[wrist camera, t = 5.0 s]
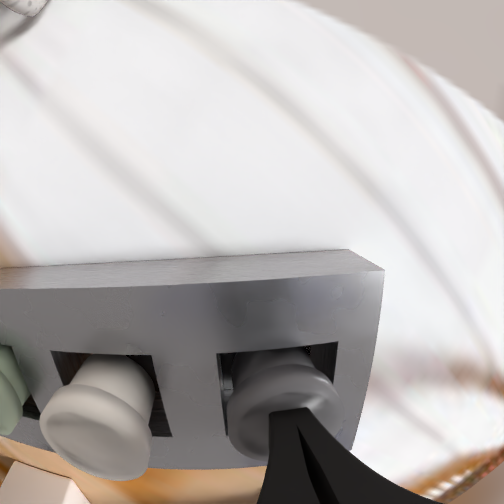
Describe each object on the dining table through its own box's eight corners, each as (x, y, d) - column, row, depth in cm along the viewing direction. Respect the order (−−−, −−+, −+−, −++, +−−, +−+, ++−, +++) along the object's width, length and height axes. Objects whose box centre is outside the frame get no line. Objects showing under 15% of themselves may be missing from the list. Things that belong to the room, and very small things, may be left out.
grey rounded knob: (312, 395, 14) (336, 451, 10) (228, 404, 13) (232, 466, 10) (317, 323, 13) (352, 374, 9) (221, 332, 12) (222, 391, 9)
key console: (332, 410, 16) (351, 449, 13) (13, 403, 14) (-8, 432, 11) (348, 249, 14) (384, 269, 10) (-34, 269, 12) (-70, 287, 8)
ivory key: (169, 419, 12) (160, 485, 8) (90, 414, 12) (66, 470, 8) (152, 346, 11) (129, 412, 7) (64, 343, 11) (22, 396, 7)
